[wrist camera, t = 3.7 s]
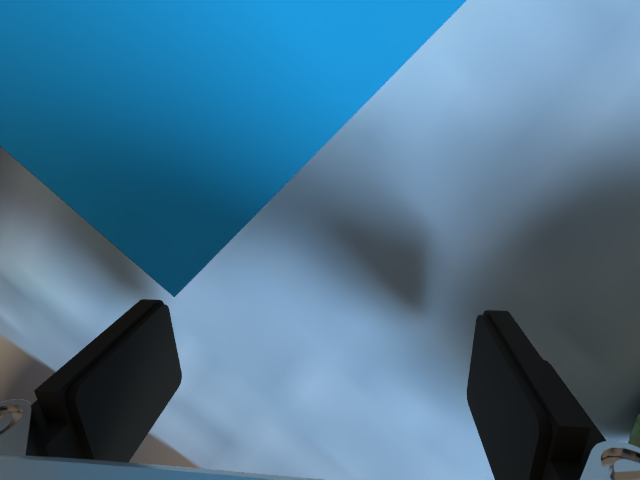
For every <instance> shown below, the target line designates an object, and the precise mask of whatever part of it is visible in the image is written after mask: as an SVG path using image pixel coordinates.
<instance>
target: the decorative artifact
mask: <svg viewBox="0 0 640 480" xmlns="http://www.w3.org/2000/svg"><path fill="white" fill-rule="evenodd" d="M628 444H631V445H634V446H636V447H639V448H640V413H639V415H638V416H637V419H636V421H635V424H634V426H633V429H632V432H631V435H630V439H629V443H628Z"/></svg>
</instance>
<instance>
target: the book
mask: <svg viewBox="0 0 640 480" xmlns="http://www.w3.org/2000/svg"><path fill="white" fill-rule="evenodd" d="M465 1H466V0H0V146H1V147H2V148H3V149H4V150H5V151H7V152H8V153H9V154H10V155H11V156H12V157H14V158H15V159H16V160H17V161H18V162H19V163H20V164H22V165H23V166H24V167H25V168H26V169H27V170H28V171H30V172H31V173H32V174H33V175H34V176H35V177H37V178H38V179H39V180H40V181H41V182H42V183H43V184H45V185H46V186H47V187H48V188H49V189H50V190H52V191H53V192H54V193H55V194H56V195H57V196H58V197H60V198H61V199H62V200H63V201H64V202H65V203H66V204H68V205H69V206H70V207H71V208H72V209H73V210H75V211H76V212H77V213H78V214H79V215H80V216H81V217H83V218H84V219H85V220H86V221H87V222H88V223H90V224H91V225H92V226H93V227H94V228H95V229H96V230H98V231H99V232H100V233H101V234H102V235H103V236H104V237H106V238H107V239H108V240H109V241H110V242H111V243H113V244H114V245H115V246H116V247H117V248H118V249H119V250H121V251H122V252H123V253H124V254H125V255H126V256H128V257H129V258H130V259H131V260H132V261H133V262H134V263H136V264H137V265H138V266H139V267H140V268H141V269H142V270H144V271H145V272H146V273H147V274H148V275H149V276H151V277H152V278H153V279H154V280H155V281H156V282H157V283H159V284H160V285H161V286H162V287H163V288H164V289H165V290H167V291H168V292H169V293H170V294H171V295H172V296H174V297H175V296H176V295H177V294H178V293H179V292H180V291H181V290H182V289H183V288H184V287H185V286H186V285H187V284H188V283H189V282H190V281H191V280H192V279H193V278H194V277H195V276H196V275H197V274H198V273H199V272H200V271H201V270H202V269H203V268H204V267H205V266H206V265H207V264H208V263H209V262H210V261H211V260H212V259H213V258H214V257H215V255H216V254H217V253H218V252H219V251H220V250H221V249H222V248H223V247H224V246H225V245H226V244H227V243H228V242H229V241H230V240H231V239H232V238H233V237H234V236H235V235H236V234H237V233H238V232H239V231H240V230H241V229H242V228H243V227H244V226H245V225H246V224H247V223H248V222H249V221H250V220H251V219H252V218H253V217H254V216H255V215H256V214H257V213H258V212H259V211H260V210H261V209H262V208H263V207H264V206H265V205H266V204H267V203H268V202H269V201H270V200H271V199H272V198H273V197H274V196H275V195H276V194H277V192H278V191H279V190H280V189H281V188H282V187H283V186H284V185H285V184H286V183H287V182H288V181H289V180H290V179H291V178H292V177H293V176H294V175H295V174H296V173H297V172H298V171H299V170H300V169H301V168H302V167H303V166H304V165H305V164H306V163H307V162H308V161H309V160H310V159H311V158H312V157H313V156H314V155H315V154H316V153H317V152H318V151H319V150H320V149H321V148H322V147H323V146H324V145H325V144H326V143H327V142H328V141H329V140H330V139H331V138H332V137H333V136H334V135H335V134H336V133H337V132H338V130H339V129H340V128H341V127H342V126H343V125H344V124H345V123H346V122H347V121H348V120H349V119H350V118H351V117H352V116H353V115H354V114H355V113H356V112H357V111H358V110H359V109H360V108H361V107H362V106H363V105H364V104H365V103H366V102H367V101H368V100H369V99H370V98H371V97H372V96H373V95H374V94H375V93H376V92H377V91H378V90H379V89H380V88H381V87H382V86H383V85H384V84H385V83H386V82H387V81H388V80H389V79H390V78H391V77H392V76H393V75H394V74H395V73H396V72H397V71H398V70H399V69H400V67H401V66H402V65H403V64H404V63H405V62H406V61H407V60H408V59H409V58H410V57H411V56H412V55H413V54H414V53H415V52H416V51H417V50H418V49H419V48H420V47H421V46H422V45H423V44H424V43H425V42H426V41H427V40H428V39H429V38H430V37H431V36H432V35H433V34H434V33H435V32H436V31H437V30H438V29H439V28H440V27H441V26H442V25H443V24H444V23H445V22H446V21H447V20H448V19H449V18H450V17H451V16H452V15H453V14H454V13H455V12H456V11H457V10H458V9H459V8H460V7H461V6H462V4H463V3H464V2H465Z"/></svg>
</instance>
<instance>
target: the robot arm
mask: <svg viewBox="0 0 640 480" xmlns="http://www.w3.org/2000/svg"><path fill="white" fill-rule="evenodd" d="M181 379H182V373H181V368H180V363H179V358H178V353H177V348H176V343H175V338H174V332H173V327H172V322H171V317H170V312H169V308H168V306H167V305H164V303H163V302H162V301H161V300H147V299H143V300H140V301H139V302H138V303H136V304H135V305H134V306H133V307H132V308H131V309H129V310H128V311H127V312H126V313H125V314H124V315H122V316H121V317H120V318H119V319H118V320H116V321H115V322H114V323H113V324H112V325H111V326H109V327H108V328H107V329H106V330H105V331H104V332H102V333H101V334H100V335H99V336H98V337H97V338H95V339H94V340H93V341H92V342H91V343H90V344H88V345H87V346H86V347H85V348H84V349H82V350H81V351H80V352H79V353H78V354H77V355H75V356H74V357H73V358H72V359H71V360H70V361H68V362H67V363H66V364H65V365H64V366H63V367H61V368H60V369H59V370H58V371H57V372H56V373H54V374H53V375H52V376H51V377H50V378H48V379H47V380H46V381H45V382H44V383H43V384H42V385H40V386H39V387H38V388H37V389H36V390H35V394H36V396H37V399H38V400H37V401H36V402H34V403H33V404H32V405H31V404H30V403H29V402H27V401H26V400H19V399H16V400H7V401H4V402H1V403H0V480H322V479H311V478H300V477H289V476H278V475H267V474H256V473H245V472H234V471H222V470H211V469H200V468H188V467H176V466H163V465H151V464H139V463H128V462H129V461H130V459H131V458H132V456H133V455H134V453H135V452H136V450H137V449H138V447H139V445H140V444H141V443H142V441H143V440H144V438H145V437H146V435H147V434H148V432H149V431H150V429H151V428H152V426H153V425H154V423H155V422H156V420H157V419H158V417H159V416H160V414H161V413H162V411H163V410H164V408H165V407H166V405H167V404H168V402H169V401H170V399H171V398H172V396H173V395H174V393H175V392H176V390H177V389H178V387H179V385H180V383H181ZM467 400H468V405H469V407H470V410H471V413H472V416H473V419H474V422H475V424H476V427H477V430H478V433H479V436H480V439H481V441H482V444H483V447H484V450H485V453H486V456H487V458H488V461H489V464H490V467H491V470H492V472H493V475H494V478H495V480H640V448H639V447H636V446H634V445H631V444H627V443H623V442H619V441H606V440H605V438H604V437H603V436H602V434H601V433H600V431H599V430H598V429H597V427H596V426H595V425H594V423H593V422H592V421H591V419H590V418H589V416H588V415H587V414H586V412H585V411H584V410H583V408H582V407H581V406H580V404H579V403H578V401H577V400H576V399H575V397H574V396H573V395H572V393H571V392H570V390H569V389H568V388H567V386H566V385H565V384H564V382H563V381H562V380H561V378H560V377H559V375H558V374H557V373H556V371H555V370H554V369H553V367H552V366H551V365H550V364H549V363H548V362H547V361H545V360H543V359H542V358H541V357H540V355H539V354H538V352H537V351H536V350H535V348H534V347H533V345H532V344H531V343H530V341H529V340H528V338H527V337H526V336H525V334H524V333H523V331H522V330H521V329H520V327H519V326H518V324H517V323H516V322H515V320H514V319H513V317H512V316H511V315H510V313H509V312H508V311H491V310H486V311H485V312H484V314H483V315H478V316H477V320H476V327H475V334H474V341H473V349H472V356H471V364H470V371H469V379H468V386H467Z"/></svg>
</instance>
